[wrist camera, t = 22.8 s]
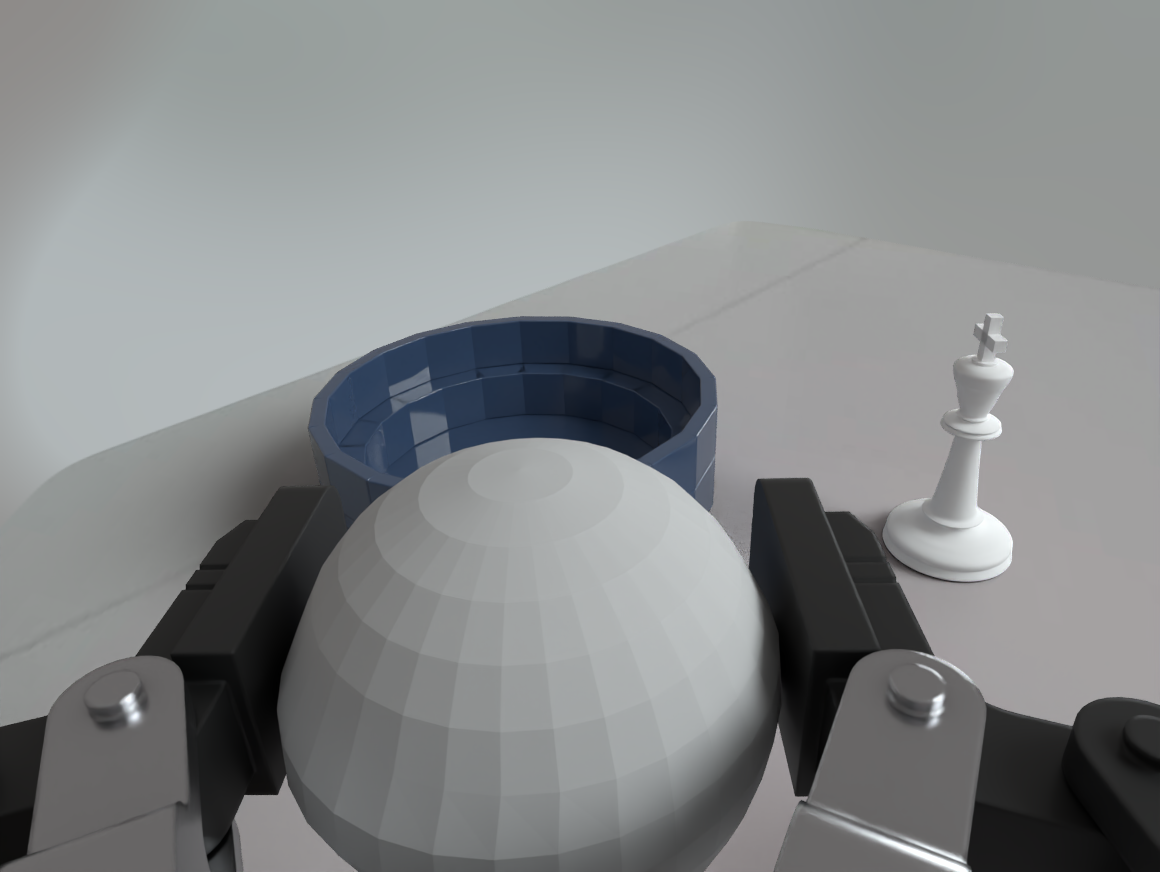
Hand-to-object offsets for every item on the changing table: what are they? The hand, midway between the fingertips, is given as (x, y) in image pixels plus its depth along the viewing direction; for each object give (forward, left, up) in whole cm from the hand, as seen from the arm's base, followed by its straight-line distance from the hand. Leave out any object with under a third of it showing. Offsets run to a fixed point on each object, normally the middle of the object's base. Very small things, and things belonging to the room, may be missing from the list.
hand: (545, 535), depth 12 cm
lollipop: (-1, -2, -13) cm, 13 cm away
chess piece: (+22, +8, -14) cm, 27 cm away
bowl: (+9, +21, -14) cm, 27 cm away
